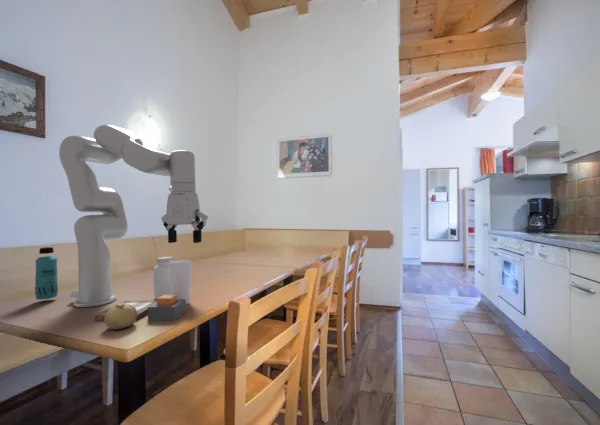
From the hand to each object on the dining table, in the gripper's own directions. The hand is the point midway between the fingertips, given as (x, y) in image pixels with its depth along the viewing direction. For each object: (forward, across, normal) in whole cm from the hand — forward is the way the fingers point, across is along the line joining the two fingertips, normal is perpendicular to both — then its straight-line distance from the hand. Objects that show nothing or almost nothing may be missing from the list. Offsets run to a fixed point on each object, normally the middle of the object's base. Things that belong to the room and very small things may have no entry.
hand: (184, 242), depth 98 cm
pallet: (+22, -17, -6) cm, 28 cm away
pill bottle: (+22, -19, +12) cm, 31 cm away
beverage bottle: (+22, -59, -4) cm, 63 cm away
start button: (+19, -3, -5) cm, 20 cm away
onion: (+22, -9, -16) cm, 29 cm away
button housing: (+22, -3, -6) cm, 23 cm away
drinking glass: (+22, -7, +6) cm, 24 cm away
